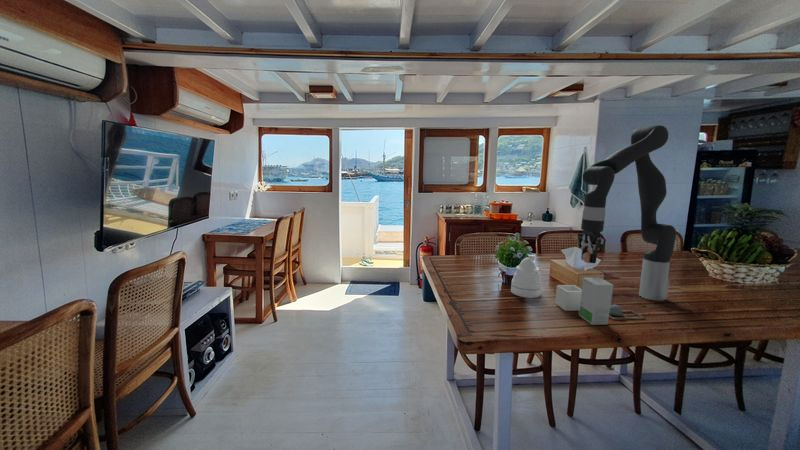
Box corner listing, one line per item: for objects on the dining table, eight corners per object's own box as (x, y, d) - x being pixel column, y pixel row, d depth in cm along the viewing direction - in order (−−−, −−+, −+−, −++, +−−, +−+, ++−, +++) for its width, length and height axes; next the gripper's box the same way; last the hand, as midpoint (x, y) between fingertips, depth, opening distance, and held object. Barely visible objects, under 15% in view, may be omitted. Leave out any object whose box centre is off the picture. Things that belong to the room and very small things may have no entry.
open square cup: (572, 303, 138) (574, 285, 137) (583, 310, 131) (585, 291, 130) (555, 303, 138) (556, 285, 137) (565, 310, 130) (566, 291, 129)
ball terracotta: (589, 262, 131) (590, 251, 130) (597, 264, 126) (598, 253, 126) (579, 261, 130) (580, 251, 130) (586, 264, 126) (587, 252, 126)
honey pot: (544, 292, 151) (547, 254, 148) (534, 299, 142) (536, 259, 139) (517, 285, 160) (520, 250, 157) (506, 292, 150) (508, 254, 148)
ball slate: (616, 313, 128) (617, 302, 128) (624, 318, 124) (625, 307, 123) (605, 313, 128) (606, 302, 127) (613, 318, 124) (614, 307, 123)
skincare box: (578, 315, 126) (581, 277, 124) (594, 315, 126) (598, 276, 124) (592, 325, 118) (596, 284, 115) (609, 325, 118) (614, 284, 116)
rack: (631, 311, 130) (631, 310, 130) (645, 319, 123) (645, 317, 123) (599, 312, 129) (600, 310, 129) (612, 319, 122) (612, 318, 122)
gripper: (615, 221, 119) (609, 266, 122) (590, 216, 133) (585, 257, 136) (596, 220, 119) (590, 266, 121) (573, 216, 133) (568, 256, 135)
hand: (588, 261), depth 129 cm, fingers closed on ball terracotta, 4 cm apart
